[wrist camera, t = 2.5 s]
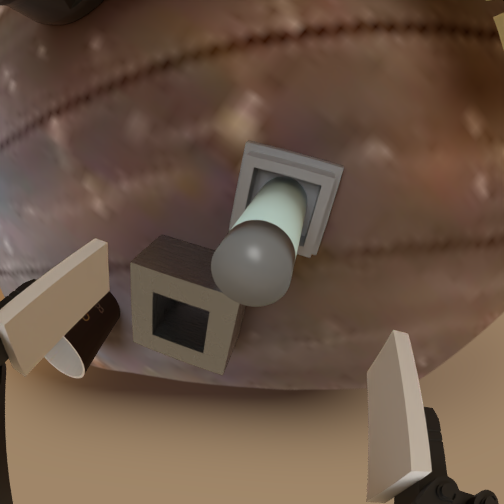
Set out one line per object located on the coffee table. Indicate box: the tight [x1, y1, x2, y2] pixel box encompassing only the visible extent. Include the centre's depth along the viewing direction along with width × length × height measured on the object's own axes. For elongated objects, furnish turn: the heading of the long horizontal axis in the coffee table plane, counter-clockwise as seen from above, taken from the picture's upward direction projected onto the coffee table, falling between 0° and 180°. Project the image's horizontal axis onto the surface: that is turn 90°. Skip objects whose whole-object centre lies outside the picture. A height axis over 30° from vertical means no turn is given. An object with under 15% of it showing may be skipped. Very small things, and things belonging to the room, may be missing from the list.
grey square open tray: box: [229, 141, 344, 258], centre depth 26 cm, size 8×8×3 cm
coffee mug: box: [44, 292, 120, 378], centre depth 34 cm, size 12×9×10 cm
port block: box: [130, 235, 246, 375], centre depth 31 cm, size 10×10×6 cm
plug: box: [211, 177, 307, 307], centre depth 21 cm, size 4×4×12 cm
